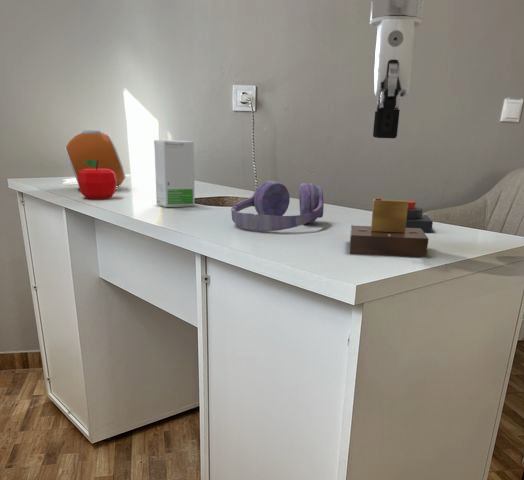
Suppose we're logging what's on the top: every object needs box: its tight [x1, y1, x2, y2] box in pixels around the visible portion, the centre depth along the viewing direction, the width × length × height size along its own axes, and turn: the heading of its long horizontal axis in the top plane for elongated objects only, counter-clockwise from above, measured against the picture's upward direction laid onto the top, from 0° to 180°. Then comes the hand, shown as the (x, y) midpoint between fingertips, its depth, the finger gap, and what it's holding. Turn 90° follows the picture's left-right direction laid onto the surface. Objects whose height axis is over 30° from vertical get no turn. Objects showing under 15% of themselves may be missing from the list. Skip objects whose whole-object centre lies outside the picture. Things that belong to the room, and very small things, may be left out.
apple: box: [77, 160, 117, 200], centre depth 152 cm, size 11×11×10 cm
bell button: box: [407, 200, 417, 210], centre depth 113 cm, size 4×4×2 cm
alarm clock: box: [64, 129, 126, 188], centre depth 172 cm, size 19×18×17 cm
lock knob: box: [370, 197, 409, 233], centre depth 91 cm, size 6×2×5 cm, turn 82°
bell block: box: [406, 206, 434, 233], centre depth 114 cm, size 10×9×4 cm
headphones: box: [230, 180, 324, 233], centre depth 114 cm, size 18×8×20 cm
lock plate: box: [349, 225, 429, 258], centre depth 93 cm, size 12×10×3 cm
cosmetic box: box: [153, 139, 196, 208], centre depth 138 cm, size 8×7×16 cm
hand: (384, 137), depth 88 cm, fingers open, 9 cm apart
